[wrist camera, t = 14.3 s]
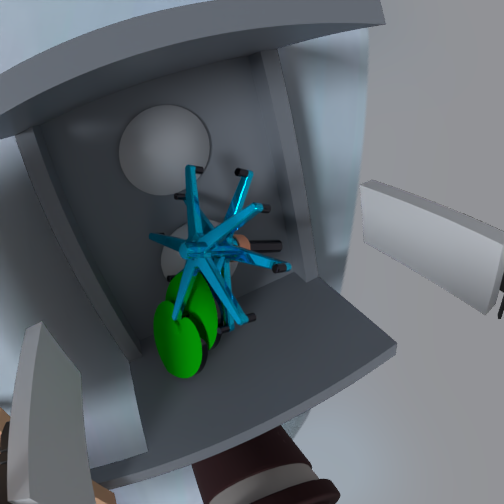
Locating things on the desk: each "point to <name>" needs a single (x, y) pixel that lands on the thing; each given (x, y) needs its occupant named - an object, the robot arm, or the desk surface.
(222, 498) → the coffee cup
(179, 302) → the stick construction toy
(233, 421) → the housing
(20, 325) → the desk surface
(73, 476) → the robot arm
